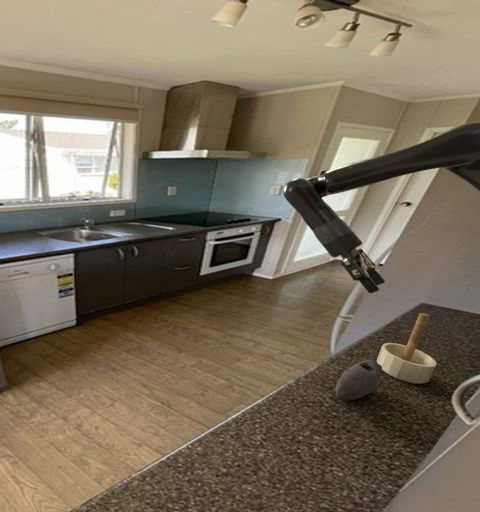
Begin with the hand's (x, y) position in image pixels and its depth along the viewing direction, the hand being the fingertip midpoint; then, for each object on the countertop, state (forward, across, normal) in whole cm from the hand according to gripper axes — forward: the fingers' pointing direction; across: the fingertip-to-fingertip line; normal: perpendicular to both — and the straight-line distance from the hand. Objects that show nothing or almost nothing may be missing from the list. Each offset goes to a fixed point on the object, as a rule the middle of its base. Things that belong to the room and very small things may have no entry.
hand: (377, 287), depth 75 cm
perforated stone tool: (+17, -20, +13) cm, 29 cm away
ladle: (+21, -1, +7) cm, 22 cm away
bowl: (+21, 0, +8) cm, 23 cm away
